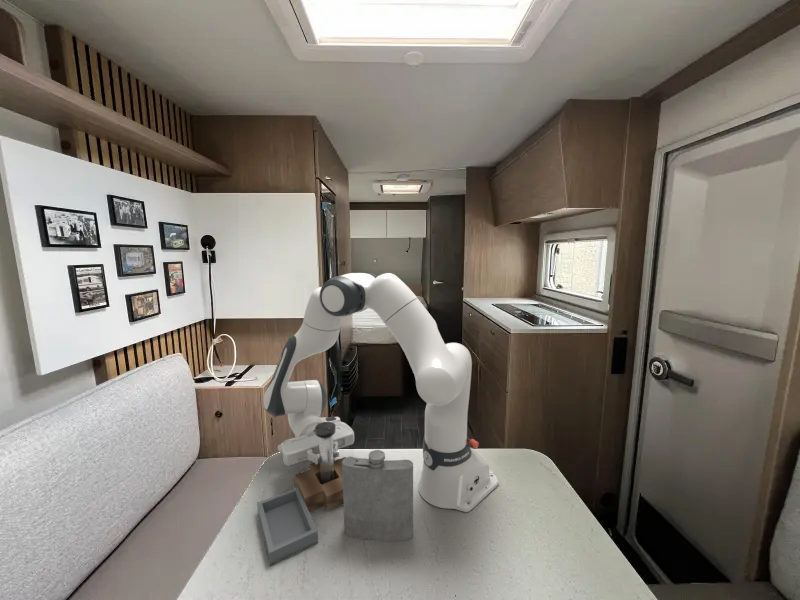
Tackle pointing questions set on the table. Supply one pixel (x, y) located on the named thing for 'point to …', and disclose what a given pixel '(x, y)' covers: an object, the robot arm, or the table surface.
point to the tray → (286, 525)
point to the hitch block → (321, 487)
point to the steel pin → (326, 450)
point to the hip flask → (378, 498)
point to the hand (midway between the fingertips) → (327, 458)
